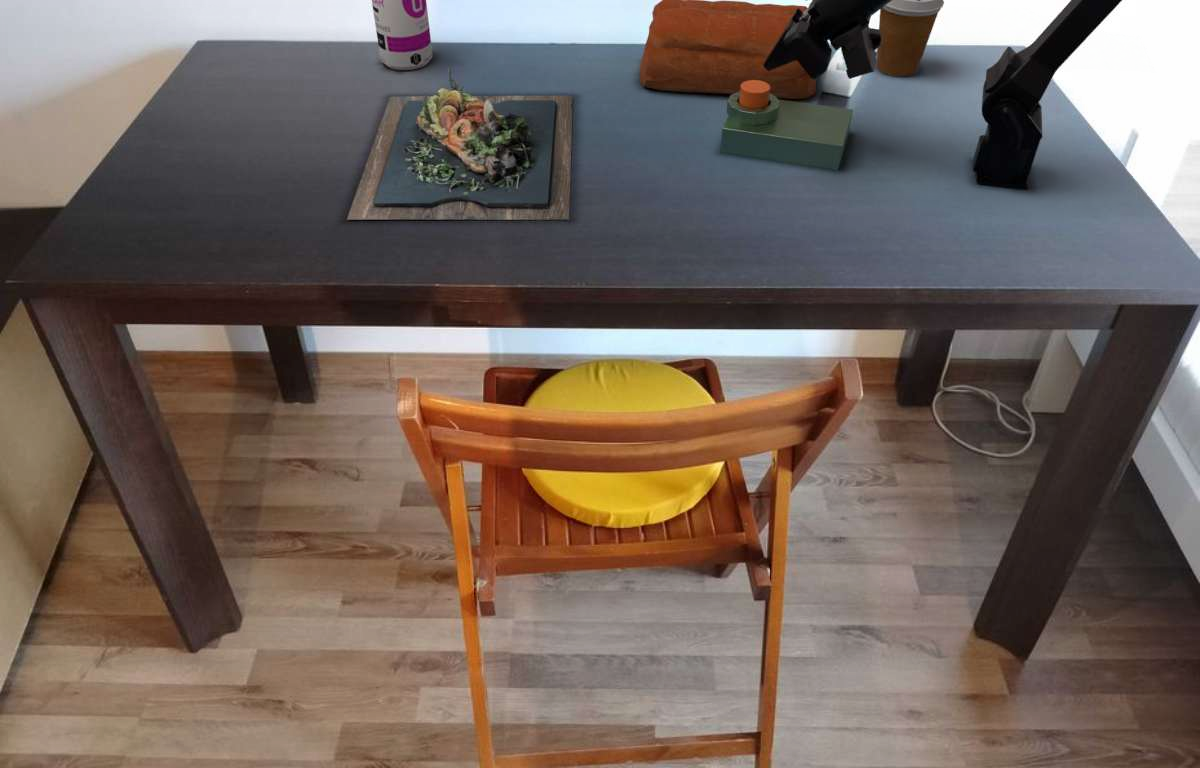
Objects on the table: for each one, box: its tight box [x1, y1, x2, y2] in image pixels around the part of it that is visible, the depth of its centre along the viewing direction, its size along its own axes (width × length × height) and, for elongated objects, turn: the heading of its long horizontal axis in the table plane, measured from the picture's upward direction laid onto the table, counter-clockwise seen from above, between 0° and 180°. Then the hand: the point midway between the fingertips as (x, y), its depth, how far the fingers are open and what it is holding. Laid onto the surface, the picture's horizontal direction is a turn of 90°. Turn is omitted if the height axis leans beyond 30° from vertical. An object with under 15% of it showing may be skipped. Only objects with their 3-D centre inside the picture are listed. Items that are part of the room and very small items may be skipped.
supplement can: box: [371, 0, 433, 71], centre depth 151 cm, size 8×8×15 cm
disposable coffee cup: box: [875, 0, 945, 77], centre depth 150 cm, size 10×10×12 cm
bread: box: [638, 0, 817, 100], centre depth 148 cm, size 16×27×11 cm, turn 81°
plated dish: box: [346, 66, 574, 221], centre depth 132 cm, size 35×28×7 cm
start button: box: [739, 80, 770, 109], centre depth 133 cm, size 4×4×3 cm
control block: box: [719, 91, 854, 172], centre depth 134 cm, size 16×11×6 cm
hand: (765, 67), depth 130 cm, fingers closed
